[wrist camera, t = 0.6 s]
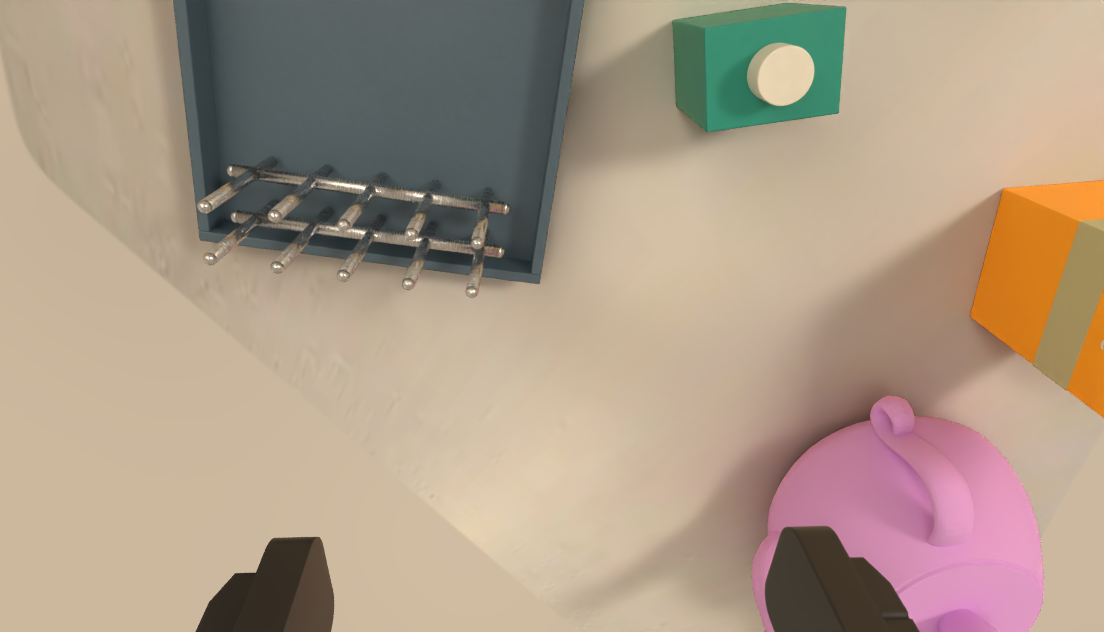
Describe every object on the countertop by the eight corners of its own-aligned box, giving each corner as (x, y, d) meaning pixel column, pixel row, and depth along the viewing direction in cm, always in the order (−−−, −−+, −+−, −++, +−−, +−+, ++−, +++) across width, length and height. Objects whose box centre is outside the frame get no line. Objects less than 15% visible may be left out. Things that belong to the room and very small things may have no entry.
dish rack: (248, 150, 35) (168, 196, 27) (512, 188, 36) (507, 242, 29) (252, 206, 36) (177, 264, 29) (506, 240, 38) (499, 304, 30)
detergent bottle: (672, 20, 33) (713, 30, 25) (787, 2, 33) (863, 7, 25) (676, 106, 35) (714, 139, 27) (784, 90, 35) (854, 119, 27)
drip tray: (187, -120, 30) (158, -129, 27) (588, -48, 31) (592, -51, 29) (219, 225, 37) (199, 240, 35) (539, 267, 39) (539, 284, 37)
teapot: (675, 410, 45) (728, 570, 32) (992, 340, 43) (1177, 483, 30) (715, 609, 55) (767, 789, 42) (973, 561, 53) (1106, 736, 40)
